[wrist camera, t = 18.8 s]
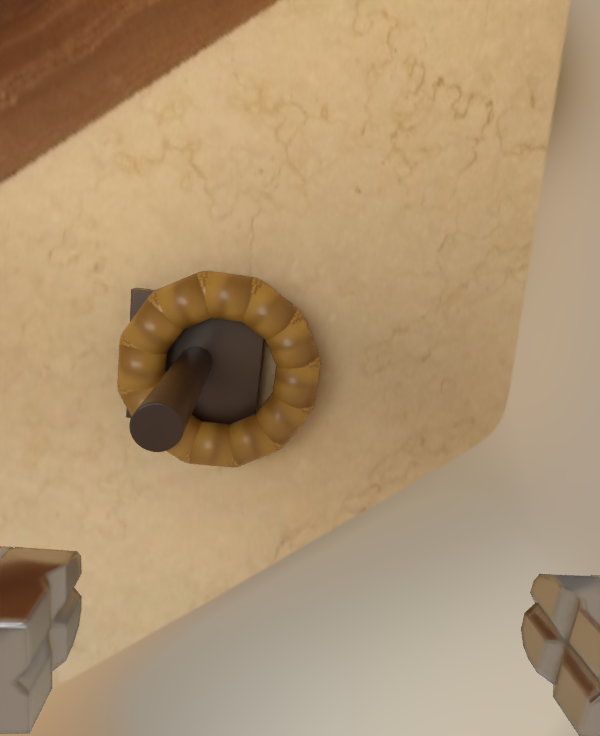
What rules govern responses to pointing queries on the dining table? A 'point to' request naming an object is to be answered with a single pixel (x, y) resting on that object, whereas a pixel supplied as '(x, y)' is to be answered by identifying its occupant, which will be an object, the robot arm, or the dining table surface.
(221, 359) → the post
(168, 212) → the dining table surface
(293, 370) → the ring
